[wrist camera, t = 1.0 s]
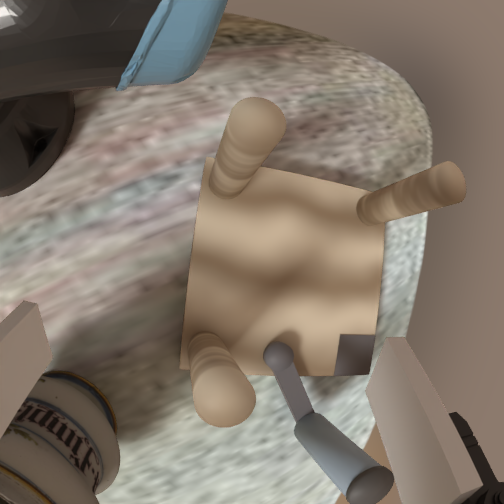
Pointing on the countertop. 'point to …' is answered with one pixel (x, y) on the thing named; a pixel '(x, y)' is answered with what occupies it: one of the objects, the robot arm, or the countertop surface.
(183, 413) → the countertop surface
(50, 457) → the apothecary jar
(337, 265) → the ash stool
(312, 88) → the countertop surface
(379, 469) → the folding leg
